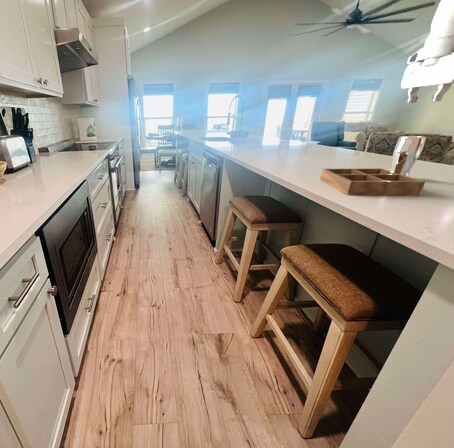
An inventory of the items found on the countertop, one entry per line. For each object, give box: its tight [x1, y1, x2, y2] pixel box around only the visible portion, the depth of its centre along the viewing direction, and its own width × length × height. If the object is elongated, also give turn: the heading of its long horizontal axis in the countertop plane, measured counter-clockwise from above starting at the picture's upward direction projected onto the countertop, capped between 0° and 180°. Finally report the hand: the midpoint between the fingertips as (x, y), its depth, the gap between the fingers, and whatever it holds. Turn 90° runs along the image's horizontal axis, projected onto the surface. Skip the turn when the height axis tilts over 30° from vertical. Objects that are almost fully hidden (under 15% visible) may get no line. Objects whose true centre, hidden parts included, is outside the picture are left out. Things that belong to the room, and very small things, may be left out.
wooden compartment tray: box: [320, 167, 426, 197], centre depth 82 cm, size 19×19×4 cm
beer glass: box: [389, 135, 427, 177], centre depth 86 cm, size 7×7×15 cm
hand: (422, 102), depth 79 cm, fingers open, 8 cm apart
